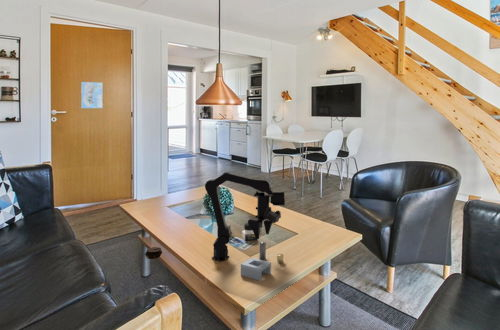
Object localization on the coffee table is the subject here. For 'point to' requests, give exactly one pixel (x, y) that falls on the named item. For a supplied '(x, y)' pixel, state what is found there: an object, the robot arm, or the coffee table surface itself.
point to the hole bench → (255, 268)
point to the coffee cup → (153, 253)
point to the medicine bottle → (248, 233)
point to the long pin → (262, 251)
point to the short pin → (280, 258)
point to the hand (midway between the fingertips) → (262, 236)
